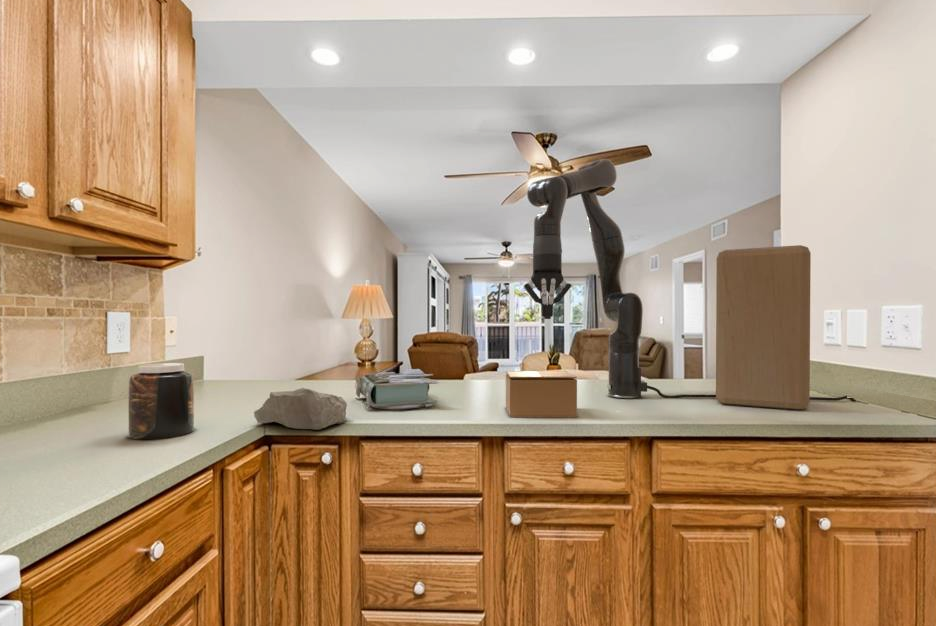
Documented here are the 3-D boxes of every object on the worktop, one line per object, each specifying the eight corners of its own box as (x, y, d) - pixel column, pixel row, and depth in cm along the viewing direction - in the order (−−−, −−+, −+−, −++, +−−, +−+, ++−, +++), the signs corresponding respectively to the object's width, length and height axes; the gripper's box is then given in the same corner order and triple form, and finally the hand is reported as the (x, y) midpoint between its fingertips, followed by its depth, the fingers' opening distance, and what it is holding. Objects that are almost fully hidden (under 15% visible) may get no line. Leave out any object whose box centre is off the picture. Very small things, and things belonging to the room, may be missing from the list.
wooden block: (810, 412, 129) (811, 243, 128) (715, 405, 140) (716, 249, 140) (801, 400, 148) (802, 253, 148) (718, 394, 160) (719, 258, 159)
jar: (165, 441, 99) (164, 367, 98) (115, 438, 101) (114, 366, 100) (205, 428, 110) (204, 362, 110) (159, 426, 112) (159, 362, 112)
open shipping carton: (566, 407, 136) (566, 371, 136) (576, 417, 123) (577, 376, 123) (505, 407, 136) (505, 371, 136) (510, 417, 123) (510, 376, 123)
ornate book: (353, 400, 154) (366, 413, 126) (353, 369, 155) (366, 376, 126) (422, 396, 162) (449, 408, 134) (421, 367, 162) (448, 373, 134)
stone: (239, 431, 108) (321, 434, 104) (238, 388, 108) (320, 389, 104) (285, 415, 126) (356, 417, 122) (284, 378, 126) (356, 379, 122)
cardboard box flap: (566, 372, 136) (566, 371, 136) (576, 378, 123) (576, 376, 123) (536, 372, 136) (536, 371, 136) (543, 378, 123) (543, 376, 123)
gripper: (569, 255, 133) (568, 319, 133) (520, 255, 133) (520, 319, 133) (575, 252, 125) (575, 319, 125) (524, 252, 125) (524, 319, 125)
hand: (547, 318), depth 129 cm, fingers closed
